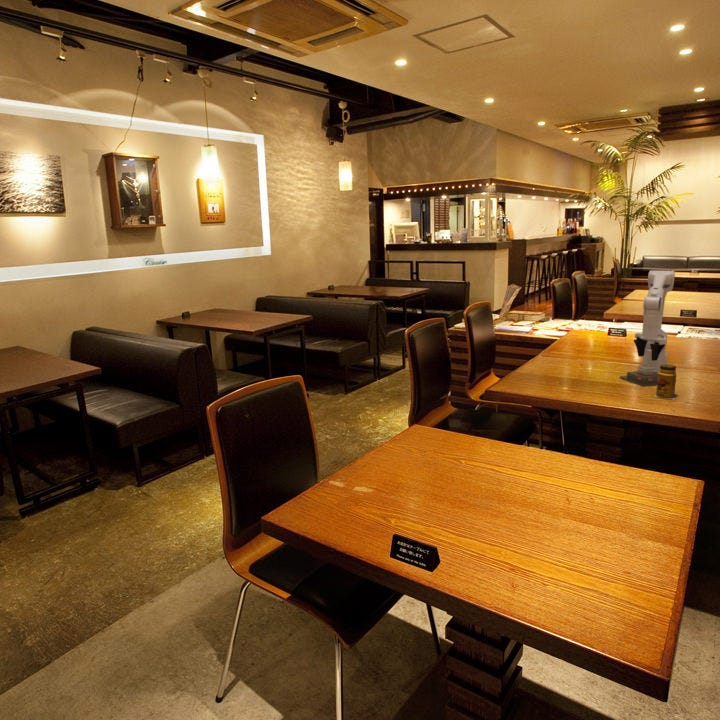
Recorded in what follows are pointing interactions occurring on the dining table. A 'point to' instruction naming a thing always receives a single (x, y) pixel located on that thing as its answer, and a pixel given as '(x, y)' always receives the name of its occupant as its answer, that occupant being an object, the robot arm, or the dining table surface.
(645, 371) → the column
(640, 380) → the housing
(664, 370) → the condiment
